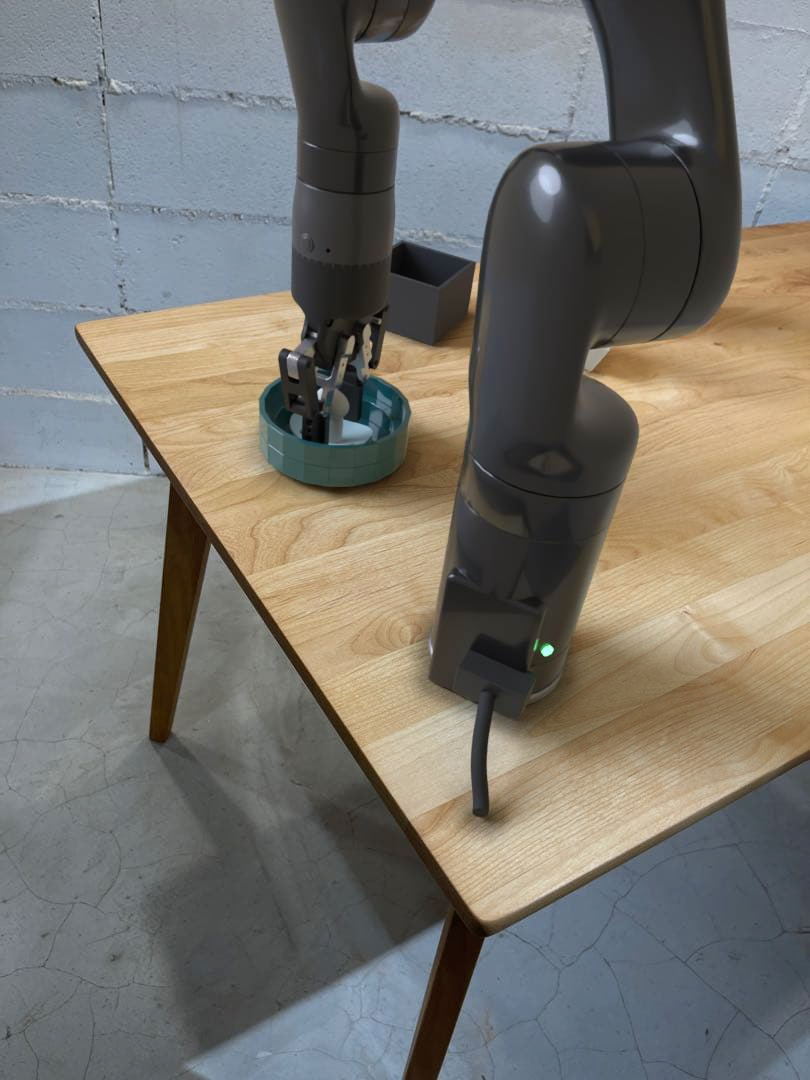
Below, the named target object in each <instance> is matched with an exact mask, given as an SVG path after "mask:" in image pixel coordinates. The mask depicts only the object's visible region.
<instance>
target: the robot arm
mask: <svg viewBox="0 0 810 1080" xmlns="http://www.w3.org/2000/svg"><path fill="white" fill-rule="evenodd" d="M436 1H437V0H273V6H274V10H275V16H276V20H277V25H278V28H279V33H280V37H281V41H282V46H283V50H284V56H285V59H286V63H287V70H288V75H289V80H290V84H291V89H292V93H293V98H294V103H295V108H296V114H297V125H296V126H297V128H296V129H297V131H296V167H295V168H296V171H295V172H296V175H295V187H294V192H293V198H292V210H291V212H292V213H291V263H290V264H291V267H290V269H291V270H290V273H291V274H290V275H291V277H290V294H291V297H292V299H293V301H294V302H295V304H296V305H297V306H298V307H299V308H300V310H301V311H302V312H303V315H304V321H303V326H302V329H301V333H300V343H299V344H298V345H297V347H295V348H294V349H293V350H291V349H288V348H286V347H283V348H281V350H280V351H279V353H278V356H277V362H278V368H279V373H280V375H279V376H280V377H281V382H282V388H283V395H284V401H285V408H286V410H287V411H290V412H293V413H296V414H298V415H301V416H302V439H303V440H306V441H310V442H315V443H321V444H327V445H329V426H330V413H329V411H330V408H331V403H332V399H333V395H334V391H335V390H336V389H337V390H339V391H340V392H341V393H343V394H344V396H345V397H346V398H347V400H348V402H349V411H348V413H347V414H346V415H345V416H344V417H343V419H344V420H347V421H351V422H355V423H356V422H357V421H358V420H360V418H361V412H362V399H363V386H364V385H363V384H366V383H367V381H368V379H369V374H370V370H374V371H375V370H377V369H378V367H379V365H380V360H381V356H382V352H383V351H382V350H383V345H384V339H385V334H386V331H387V330H386V325H387V320H388V314H389V309H390V303H389V302H387V300H388V291H389V280H390V269H391V259H392V247H393V245H394V235H395V224H396V195H395V193H396V192H395V191H396V176H397V175H396V174H397V164H398V154H399V153H398V152H399V140H400V131H401V130H400V129H401V112H400V111H401V110H400V104H399V102H398V100H397V98H396V96H395V95H394V94H393V93H392V92H391V91H390V90H388V89H387V88H385V87H384V86H381V85H379V84H376V83H372V82H369V81H365V80H361V78H360V77H359V73H358V69H357V68H358V67H357V64H356V59H355V45H358V44H361V45H362V44H375V43H376V44H379V43H380V44H382V43H396V42H400V41H403V40H406V39H408V38H410V37H411V36H413V35H414V34H415V33H417V32H418V30H420V28H421V27H422V26H423V25H424V23H425V22H426V20H427V19H428V17H429V16H430V14H431V12H432V10H433V8H434V7H435V3H436ZM579 1H580V3H581V4H582V7H583V9H584V12H585V14H586V16H587V19H588V22H589V24H590V27H591V30H592V32H593V35H594V39H595V43H596V46H597V50H598V54H599V59H600V64H601V69H602V75H603V82H604V89H605V98H606V109H607V122H608V139H609V140H574V141H573V140H571V141H569V140H568V141H552V142H551V141H550V142H543V143H538V144H534V145H531V146H529V147H527V148H525V149H523V150H522V151H520V152H519V153H518V154H517V155H515V157H513V159H511V161H510V162H509V163H508V165H507V167H505V169H504V171H503V173H502V175H501V176H500V179H499V180H498V183H497V184H496V187H495V190H494V192H493V195H492V198H491V201H490V204H489V208H488V211H487V217H486V221H485V226H484V232H483V240H482V246H481V254H480V262H479V270H478V271H479V272H478V281H477V292H476V301H475V311H474V319H473V328H472V336H471V343H470V350H469V359H468V368H467V383H468V385H467V386H468V387H467V388H468V404H469V405H468V407H469V408H468V409H469V411H468V412H469V414H468V415H469V416H468V423H467V430H466V436H465V443H464V448H463V454H462V460H461V465H460V472H459V475H458V481H457V487H456V492H455V497H454V503H453V508H452V513H451V514H452V515H451V520H450V525H449V530H448V537H447V542H446V548H445V553H444V557H443V558H444V559H443V564H442V570H441V575H440V581H439V586H438V592H437V596H436V597H437V598H436V602H435V603H436V604H435V610H434V616H433V620H432V624H431V626H430V630H429V634H428V641H427V642H428V643H427V654H428V658H429V668H428V674H427V679H428V680H429V681H430V682H433V683H435V684H437V685H439V686H441V687H444V688H445V689H448V690H450V691H452V692H454V693H456V694H458V695H460V696H462V697H464V698H466V699H468V700H470V701H473V702H476V703H477V709H476V714H475V719H474V725H473V732H472V740H471V750H470V780H471V781H470V783H471V792H472V793H471V795H472V810H471V811H472V812H471V813H472V815H473V816H474V817H476V818H486V817H488V816H489V814H490V792H489V782H488V781H489V780H488V748H489V740H490V739H489V738H490V731H491V725H492V719H493V713H494V711H495V712H497V713H499V714H502V715H504V716H506V717H508V718H510V719H512V720H515V721H516V722H518V721H520V719H521V717H522V715H523V713H524V711H525V710H526V708H527V706H528V705H531V704H535V703H536V702H538V701H541V700H542V699H545V698H546V697H547V696H548V695H550V693H552V692H553V691H554V690H555V688H556V687H557V686H558V685H559V682H560V679H561V678H562V675H563V672H564V669H565V665H566V659H567V655H568V653H569V650H570V646H571V644H572V641H573V638H574V634H575V631H576V628H577V625H578V622H579V619H580V616H581V613H582V611H583V608H584V604H585V602H586V598H587V596H588V592H589V589H590V587H591V585H592V580H593V578H594V575H595V571H596V569H597V565H598V562H599V560H600V556H601V553H602V551H603V547H604V545H605V541H606V538H607V535H608V533H609V529H610V526H611V525H612V521H613V519H614V516H615V513H616V509H617V506H618V503H619V501H620V498H621V494H622V492H623V490H624V489H623V488H624V486H625V483H626V480H627V477H628V474H629V473H630V469H631V467H632V464H633V460H634V458H635V454H636V451H637V448H638V444H639V440H640V424H639V421H638V417H637V415H636V412H635V411H634V409H633V408H632V406H631V405H630V404H629V402H628V401H627V400H626V399H624V398H623V396H621V395H620V394H619V393H618V392H616V391H615V390H613V389H612V388H611V387H609V386H607V385H606V384H604V383H603V382H602V381H599V380H597V379H595V378H593V377H591V376H589V375H587V374H585V373H584V372H585V370H584V368H585V363H586V359H587V356H588V353H589V350H592V349H600V348H608V347H611V348H615V347H622V346H631V345H639V344H647V343H654V342H661V341H669V340H675V339H680V338H682V337H687V336H690V335H692V334H694V333H696V332H698V331H699V330H701V329H702V328H704V327H706V325H708V323H710V321H711V320H712V319H713V318H714V317H715V316H716V315H717V314H718V313H719V311H720V309H721V307H722V306H723V304H724V302H725V301H726V299H727V297H728V295H729V293H730V290H731V287H732V284H733V282H734V279H735V276H736V272H737V268H738V263H739V258H740V251H741V244H742V243H741V242H742V235H743V234H742V233H743V190H742V189H743V188H742V171H741V162H740V160H741V159H740V150H739V149H740V148H739V137H738V136H739V135H738V128H737V117H736V107H735V97H734V86H733V76H732V74H733V73H732V63H731V55H730V45H729V43H730V42H729V31H728V20H727V19H728V18H727V8H726V7H727V5H726V0H579ZM318 368H320V369H323V370H326V371H329V372H332V375H331V377H328V376H326V375H323V374H320V373H317V370H318ZM317 385H318V386H320V387H322V390H323V391H322V395H321V400H319V399H318V392H317ZM298 395H299V398H298Z"/></svg>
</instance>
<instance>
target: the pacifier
mask: <svg viewBox="0 0 810 1080" xmlns="http://www.w3.org/2000/svg"><path fill="white" fill-rule="evenodd" d="M322 391H323V390H322V388H321V389H319V390H318V399H319V400H321V395H322ZM348 411H349V402H348V400H347V398H346V397H345V396H344V394H343V393H341V392H340V391H339V390H337V389H336V390H335V391H334V395H333V399H332V403H331V408H330V411H329V413H330V426H329V445H357V444H363V443H368V442H372V439H373V438H372V429H371V428H370V427H368V426H365V425H362V424H359V423H355V422H351V421H347V420H344V419H343V417H344V416H345V415H346V414H347V413H348ZM290 428H291V431H292V433H293V434H294V436H296V437H298V438H301V439H302V434H301V433H300V432H302V416H301V415H298V414H296V413H294V414H293V415H292V416H291V418H290Z"/></svg>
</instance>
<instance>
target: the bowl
mask: <svg viewBox="0 0 810 1080" xmlns="http://www.w3.org/2000/svg"><path fill="white" fill-rule="evenodd" d="M317 373H320V374H323V375H326V376H328V377H331V375H332V372H329V371H326V370H323V369H320V368H318V370H317ZM363 385H364V386H363V399H362V412H361V418H360V420H358V421H357V422H356V423H359V424H362V425H365V426H368V427H370V428H371V429H372V438H373V439H372V442H368V443H363V444H357V445H327V444H321V443H315V442H310V441H306V440H303V439H301V438H298V437H296V436H294V434H293V433H292V431H291V428H290V418H291V416H292V415H293V414H294V413H293V412H290V411H287V410H286V408H285V401H284V395H283V388H282V382H281V376H279V377H277V378H276V379H274V380H273V381H272V382H270V383H268V384H267V385H266V386H265V387H264V389H263V391H262V392H261V394H260V395H259V398H258V431H259V432H258V439H259V450H260V452H261V454H262V455H263V457H264V459H265V460H266V462H267V463H268V464H269V465H271V466H272V467H273V468H274V469H276V470H277V471H278V472H280V473H281V474H283V475H285V476H287V477H289V478H292V479H294V480H296V481H299V482H302V483H304V484H308V485H309V484H310V485H314V486H315V485H316V486H319V487H320V486H321V487H326V488H327V487H328V488H346V487H347V488H353V487H357V486H362V485H367V484H371V483H375V482H378V481H380V480H382V479H383V478H385V477H388V476H389V475H390V476H391V474H393V473H394V472H395V471H396V470H397V469H398V468H399V467H400V466H401V465H402V464H403V463H404V461H405V458H406V454H407V450H408V444H409V436H410V429H411V421H412V409H411V405H410V402H409V399H408V398H407V397H406V395H404V394H403V392H402V391H401V390H400V389H399V388H398V387H397V386H395V385H394V384H392V383H390V382H388V381H387V380H386V379H384V378H381V377H379V376H376V375H373V374H371V373H369V379H368V381H367V383H366V384H363ZM321 388H322V387H320V386H318V385H317V392H318V390H319V389H321ZM298 398H299V395H298ZM300 433H301V434H302V432H300Z"/></svg>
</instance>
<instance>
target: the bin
mask: <svg viewBox="0 0 810 1080" xmlns="http://www.w3.org/2000/svg"><path fill="white" fill-rule="evenodd" d="M476 266H477V261H474V260H472V259H468V258H464V257H460V256H458V255H454V254H450V253H448V252H445V251H441V250H437V249H435V248H434V249H433V248H430V247H428V246H424V245H421V244H417V243H413V242H411V241H407V240H403V239H401V240H399V241H398V242H396V243H395V244H393V247H392V259H391V269H390V280H389V291H388V300H387V302H389V303H390V309H389V314H388V320H387V325H386V330H385V331H387V332H389V333H392V334H396V335H399V336H402V337H404V338H408V339H411V340H414V341H417V342H420V343H423V344H427V345H428V346H431V347H433V346H434V345H436V343H438V342H439V341H440V340H441V339H443V337H444V336H446V335H447V334H448V333H450V331H451V330H453V329H454V328H455V327H456V326H458V324H459V323H460V322H462V321H463V320H464V319H465V318H467V316H469V315H468V314H469V308H470V302H471V296H472V290H473V284H474V279H475V278H474V277H475V273H476Z"/></svg>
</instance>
